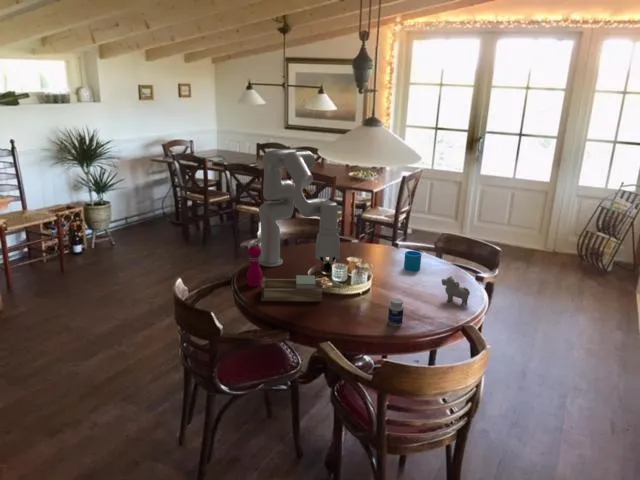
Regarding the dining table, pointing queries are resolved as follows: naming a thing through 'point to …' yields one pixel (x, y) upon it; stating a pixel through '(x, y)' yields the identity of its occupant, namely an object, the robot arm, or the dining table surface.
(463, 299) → the dog figurine
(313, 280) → the grey-green block
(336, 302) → the dining table surface
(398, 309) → the pill bottle
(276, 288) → the bay
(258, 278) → the pepper mill
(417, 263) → the mug
